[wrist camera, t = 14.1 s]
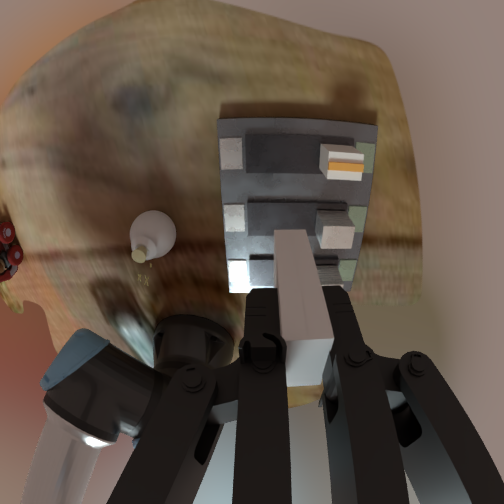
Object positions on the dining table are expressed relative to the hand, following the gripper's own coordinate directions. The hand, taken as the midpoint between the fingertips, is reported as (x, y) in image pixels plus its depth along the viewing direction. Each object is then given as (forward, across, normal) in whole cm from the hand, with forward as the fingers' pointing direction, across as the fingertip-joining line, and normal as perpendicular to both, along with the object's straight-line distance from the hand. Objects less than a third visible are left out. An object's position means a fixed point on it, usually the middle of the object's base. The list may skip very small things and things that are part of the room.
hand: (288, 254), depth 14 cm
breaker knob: (+18, +7, +1) cm, 19 cm away
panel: (+20, +3, -7) cm, 22 cm away
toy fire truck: (+21, -51, -9) cm, 56 cm away
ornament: (+21, -15, -9) cm, 27 cm away
